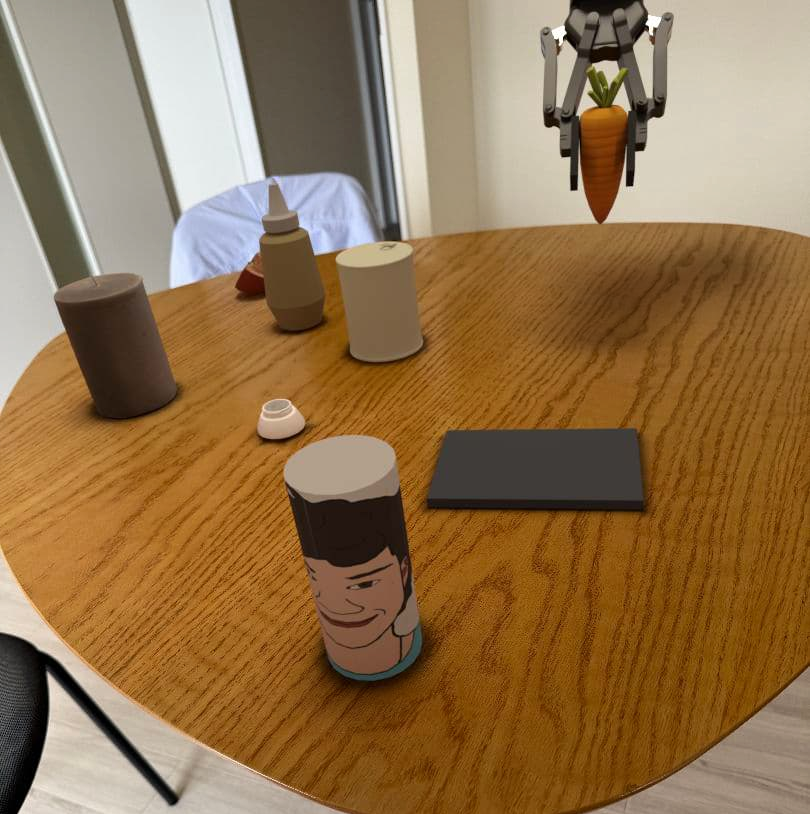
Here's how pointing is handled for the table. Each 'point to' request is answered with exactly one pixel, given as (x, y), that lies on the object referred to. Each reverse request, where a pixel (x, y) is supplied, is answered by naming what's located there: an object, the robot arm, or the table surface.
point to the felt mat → (539, 469)
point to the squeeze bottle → (289, 267)
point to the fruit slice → (252, 277)
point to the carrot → (602, 144)
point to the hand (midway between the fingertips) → (601, 180)
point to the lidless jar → (279, 420)
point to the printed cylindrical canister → (356, 553)
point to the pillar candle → (117, 344)
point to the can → (380, 301)
